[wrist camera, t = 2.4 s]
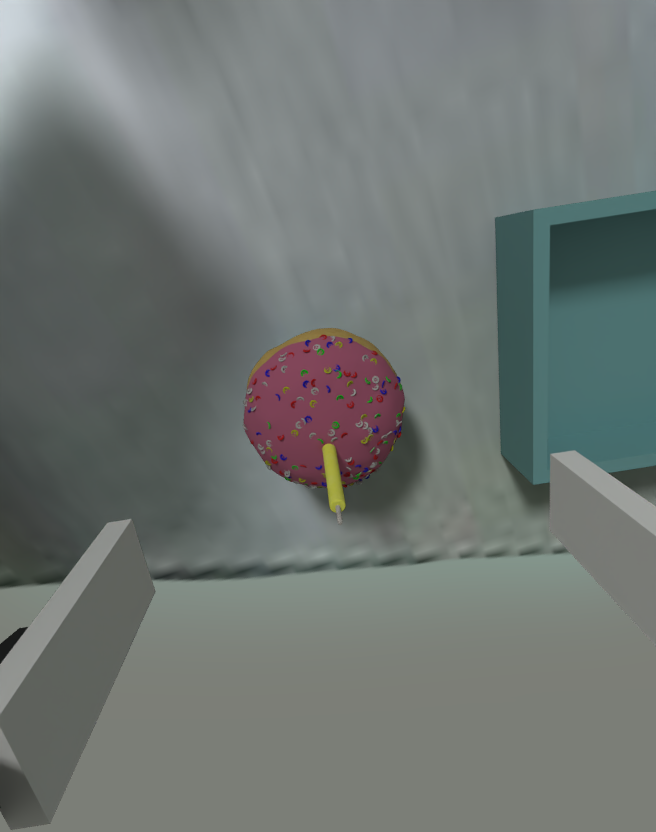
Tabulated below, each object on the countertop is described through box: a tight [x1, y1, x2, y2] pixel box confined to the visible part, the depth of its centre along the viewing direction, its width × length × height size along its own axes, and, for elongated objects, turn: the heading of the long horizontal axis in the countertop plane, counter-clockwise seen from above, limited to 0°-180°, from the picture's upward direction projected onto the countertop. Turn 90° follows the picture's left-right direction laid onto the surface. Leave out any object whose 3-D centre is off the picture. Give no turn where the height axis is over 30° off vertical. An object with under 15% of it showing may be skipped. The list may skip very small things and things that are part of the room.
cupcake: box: [243, 328, 405, 525], centre depth 23 cm, size 9×8×12 cm
